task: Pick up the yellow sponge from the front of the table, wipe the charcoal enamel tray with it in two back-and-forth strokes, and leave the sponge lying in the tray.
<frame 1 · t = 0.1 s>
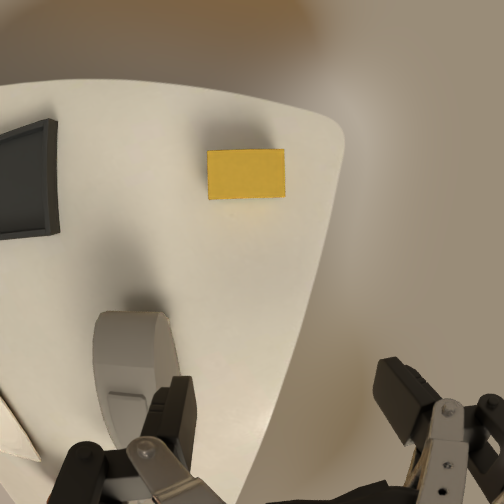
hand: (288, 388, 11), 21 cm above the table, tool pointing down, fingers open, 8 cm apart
sponge: (244, 175, 30), on the table
tray: (4, 187, 28), on the table
alarm clock: (159, 374, 35), on the table
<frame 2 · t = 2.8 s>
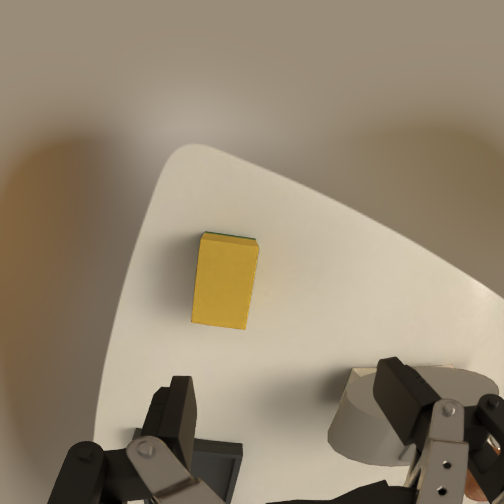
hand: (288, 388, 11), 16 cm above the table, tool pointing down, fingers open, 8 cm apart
sponge: (224, 272, 27), on the table
tray: (186, 476, 33), on the table
jug: (481, 450, 40), on the table
alarm clock: (401, 382, 32), on the table
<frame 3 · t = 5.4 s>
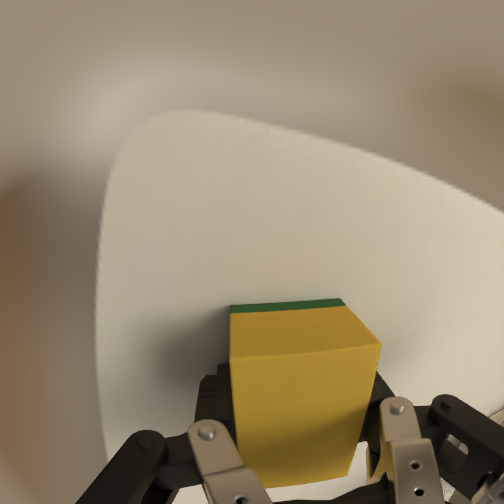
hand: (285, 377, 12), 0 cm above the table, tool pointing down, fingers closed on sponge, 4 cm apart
sponge: (285, 373, 12), on the table, touching gripper
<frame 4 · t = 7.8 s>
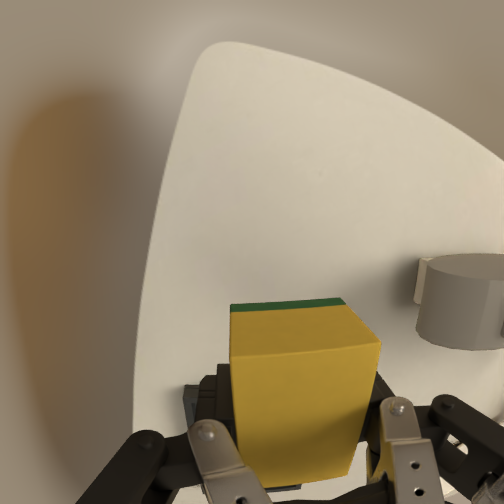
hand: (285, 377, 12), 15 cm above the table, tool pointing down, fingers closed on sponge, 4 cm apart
sponge: (285, 372, 12), point 14 cm above the table, touching gripper
tray: (250, 443, 31), on the table
alarm clock: (466, 277, 28), on the table
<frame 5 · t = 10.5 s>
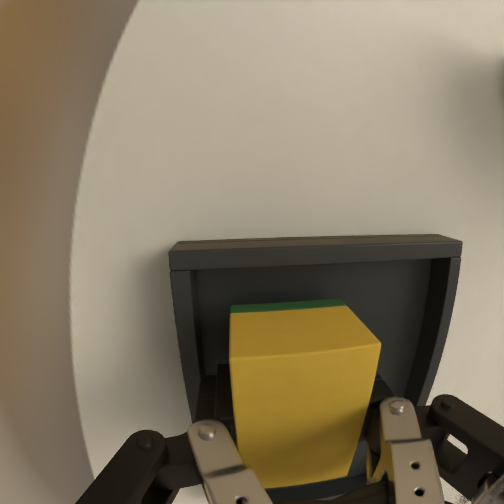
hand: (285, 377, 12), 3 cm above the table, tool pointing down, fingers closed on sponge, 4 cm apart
sponge: (285, 373, 12), point 2 cm above the table, touching gripper
tray: (314, 402, 16), on the table
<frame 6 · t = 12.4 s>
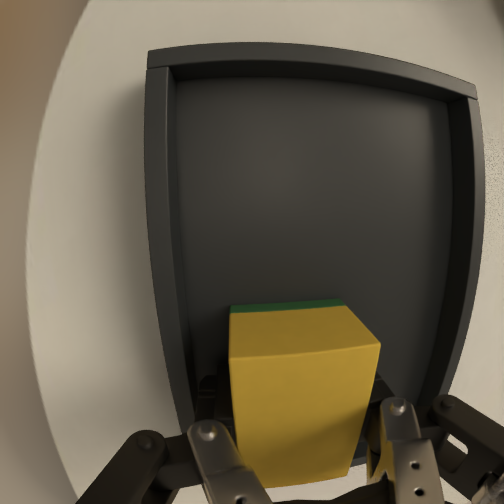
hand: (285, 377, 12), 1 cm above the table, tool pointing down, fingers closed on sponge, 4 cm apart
sponge: (284, 373, 12), point 1 cm above the table, touching gripper
tray: (330, 297, 12), on the table
when the fingers open (1 cm above the table, at t = 15.4 s): sponge stays where it is, resting on tray.
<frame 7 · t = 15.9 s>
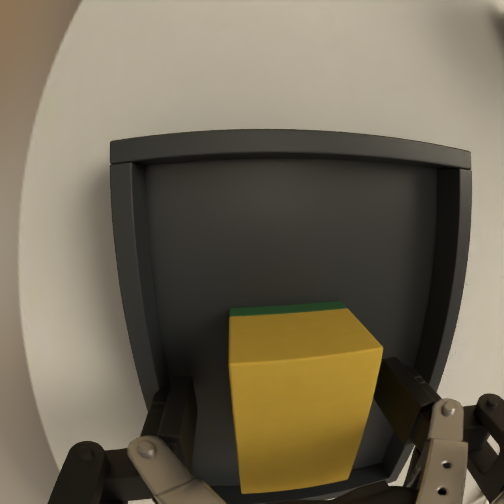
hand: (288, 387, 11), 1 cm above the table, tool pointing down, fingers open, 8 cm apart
sponge: (285, 376, 12), point 1 cm above the table, touching tray
tray: (302, 366, 13), on the table
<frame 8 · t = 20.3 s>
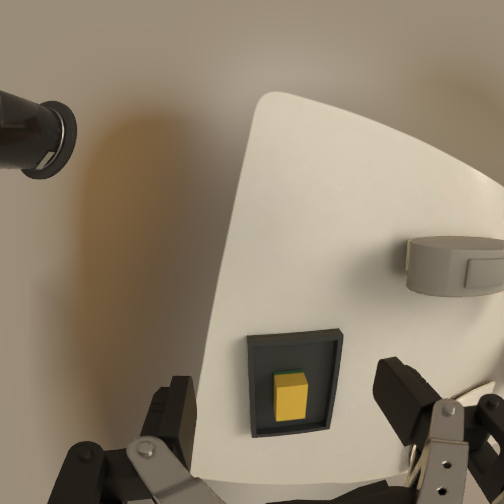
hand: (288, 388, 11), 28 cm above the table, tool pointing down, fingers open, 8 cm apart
sponge: (287, 388, 43), point 1 cm above the table, touching tray
tray: (292, 385, 44), on the table
plate: (449, 425, 51), on the table
alarm clock: (444, 253, 41), on the table
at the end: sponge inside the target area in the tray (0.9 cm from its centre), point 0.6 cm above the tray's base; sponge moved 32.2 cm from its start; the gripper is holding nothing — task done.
